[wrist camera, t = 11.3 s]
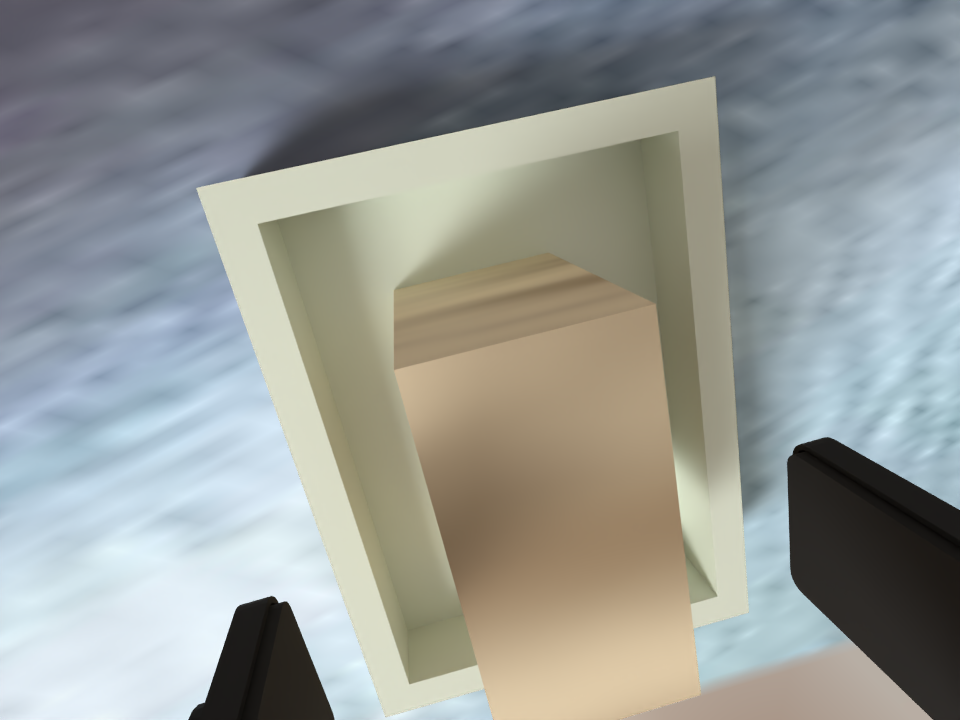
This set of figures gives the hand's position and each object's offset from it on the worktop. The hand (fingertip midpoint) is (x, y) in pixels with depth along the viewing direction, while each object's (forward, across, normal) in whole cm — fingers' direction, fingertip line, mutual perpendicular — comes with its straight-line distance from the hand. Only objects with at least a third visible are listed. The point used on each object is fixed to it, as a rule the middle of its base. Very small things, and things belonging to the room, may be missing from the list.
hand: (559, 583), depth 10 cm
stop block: (+8, -1, 0) cm, 8 cm away
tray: (+8, -1, 0) cm, 8 cm away
